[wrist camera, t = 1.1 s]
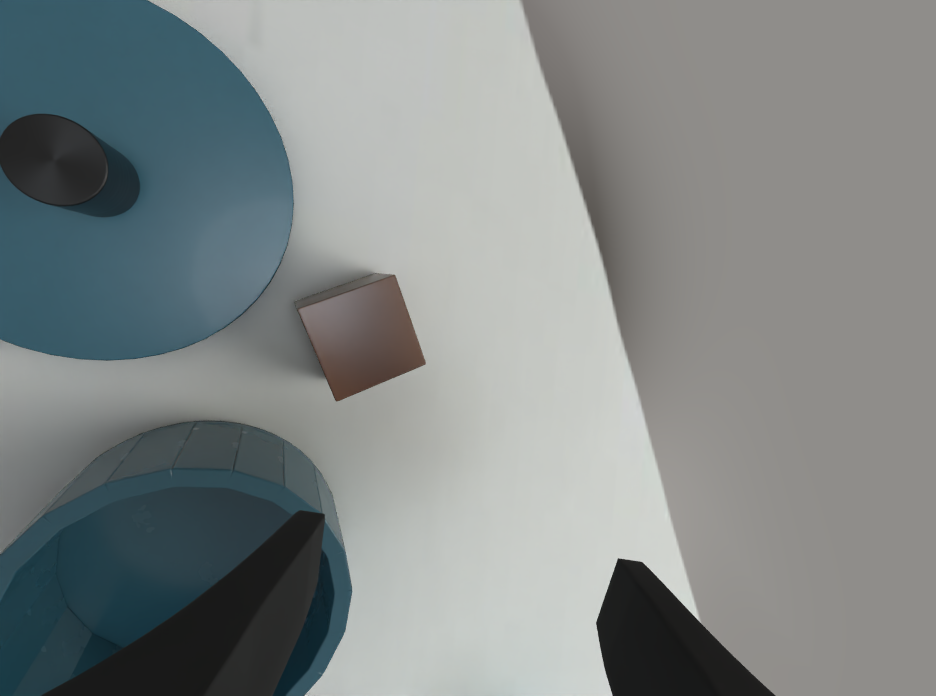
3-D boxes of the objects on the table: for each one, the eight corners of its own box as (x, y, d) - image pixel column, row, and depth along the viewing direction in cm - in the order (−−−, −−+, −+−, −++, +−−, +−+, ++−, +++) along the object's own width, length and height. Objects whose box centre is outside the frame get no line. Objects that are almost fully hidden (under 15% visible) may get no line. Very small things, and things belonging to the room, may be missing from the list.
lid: (-150, 329, 16) (-307, 352, 12) (-127, -87, 15) (-295, -234, 10) (269, 373, 21) (266, 400, 17) (314, 70, 20) (324, 16, 16)
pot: (27, 678, 20) (-57, 816, 15) (55, 409, 18) (-26, 462, 14) (316, 645, 24) (325, 742, 19) (353, 429, 23) (373, 473, 18)
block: (327, 379, 22) (336, 402, 19) (293, 301, 21) (296, 309, 18) (403, 348, 23) (426, 364, 20) (375, 272, 22) (394, 274, 19)
